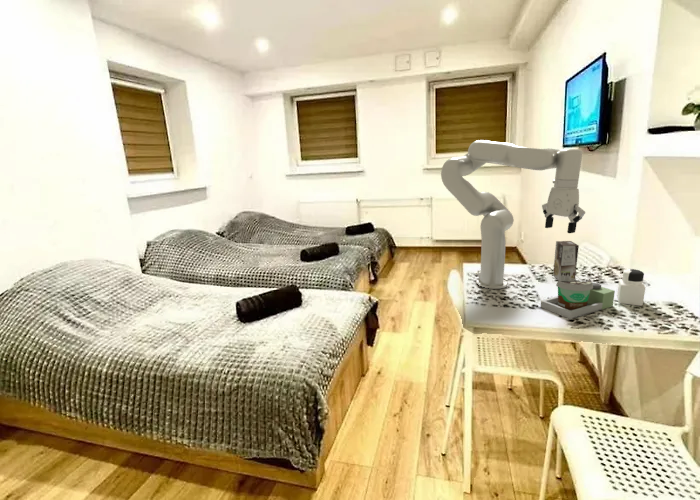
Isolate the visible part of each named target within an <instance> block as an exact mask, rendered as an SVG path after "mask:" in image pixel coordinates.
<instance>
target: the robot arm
mask: <svg viewBox="0 0 700 500" xmlns="http://www.w3.org/2000/svg"><path fill="white" fill-rule="evenodd" d="M582 159H583V150H581V149H579V148H565V149H558V148H557V149H556V148H537V147H536V148H534V147H528V146H527V147H526V146H518V145H515V143H511V142H500V141H491V140H488V139H485V140H484V139H480V140H479V139H478V140H475V141H473V142H472V143H471V144H469V147H468V149H467V153H466V154H465V155H463V156H456V157H451V158H449V159H447V160H446V161H445V162H444V163H443V165H442V167H441V170H440V172H441V173H440V177H441V178H440V179H441V181H442V183H443V185H444V187H445V188H446V189H447V191H448V192H449V193H450V194H451V195H452V196H453V197H454V198H455V199H456V200H457V201H458V202H459V203H460V204H461V206H463V208H464V209H466V211H467V212H468V213H469V214H470V215H472V216H475V217H477V216H478V217H479V216H482V215H483V217H482V220H481V222H480V235H481V236H480V237H481V248H480V249H481V251H480V269H479V270H477V271H476V272H475V276H477V277H478V279H476V281H475V282H476V283H477V284H478V285H479V286H478V285H477V284H476V283H475V284H476V285H477V286H478V287H480V286H482V287H481V288H483V287H485V288H484V289H488V288H489V289H490V290H499V289H504V288H506V287H508V282H507V281H506V280H505V279H504V278H505V265H506V264H505V261H506V246H507V245H506V234H505V233H506V231H508V230H510V228H512V226H513V224H514V216H513V213H511V211H510V210H509V209H508V207H506V205H504V204H503V203H502V202H501V201H500V200H499V199H498V198H497V197H496V196H495V195H494V194H492V193H490V192H489V191H488V192H487V191H481V192H480V191H479V190H477V189H476V188H475V186H473V184H471V182H469V181H468V180H466V179H465V178H464V177H466V176H469V175H471V174H472V173H474V172H475V171H477V170H478V169H480V168H481V167H482V166H483V167H484V165H485V164H494V165H500V166H506V167H513V168H520V169H525V170H533V171H545V170H550V169H555V176H554V179H552V184H553V186H552V187H551V188H550V191H549V194H548V198H547V201H546V202H545V203H543V204H541V209H542V213H543V214H544V217H545V225H544V228H546V229H550V228H553V225H554V217H553V216H558V217H564V218H566V217H567V218H568V220H569V221H570V222H568V224H567V225H568V226H567V231H566V232H567V234H573V233H574V234H575V233H576V231H577V224H578V223H579V222H580V221H581V220H582V219H583V217H584V215H585V214H586V211H585V210H584V209H582V208H581V207H580V206H579V205H580V191H579V188H578V187H579V180H580V172H581V167H582Z"/></svg>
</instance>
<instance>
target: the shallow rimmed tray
mask: <svg viewBox="0 0 700 500" xmlns="http://www.w3.org/2000/svg"><path fill="white" fill-rule="evenodd" d="M592 283H593V289H591V290H590V294H589V298H588V302H587V306H585V307H582V308H578V309H575V310H572V311H571V310H568V309H565V308H562V307H560V306H558V295H557V296H554V297H550V298H546V299H543V300H540V308H542V309H545V310H548V311H550V312H552V313H554V314H556V315H560V316H561V317H564V318H567V319H569V320H573V319H576V318H579V317H582V316H585V315H586V316H587V315H589V314H592V313H594V312H595V313H596V312H599V311H603V310H605V309H608V308H611V307H613V306H614V299H615V293H616V291H615V290H614V289H612V288H611V289H610V288H607V287H603V286H602V284H601V283H599V282H598V283H597V282H592Z"/></svg>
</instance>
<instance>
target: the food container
mask: <svg viewBox="0 0 700 500" xmlns="http://www.w3.org/2000/svg"><path fill="white" fill-rule="evenodd" d="M593 283H594V282H593V281H592V279H590V278H588V279H587V280H586V281H579V280H578V281H577V280H575V281H571V282H569V281H559V280H557V282H556V285H555V286H556V287H557V296H558V306H560V307H562V308H565V309H568V310H571V311H572V310H575V309H578V308H582V307H585V306H587V302H588V298H589V294H590V290H591V289H593Z"/></svg>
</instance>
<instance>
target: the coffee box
mask: <svg viewBox="0 0 700 500" xmlns="http://www.w3.org/2000/svg"><path fill="white" fill-rule="evenodd" d="M579 246H580V245H579V244H577V243H575V242H573V241H572V240H561V241H559V240H556V241H555V248H554V249H555V252H554V259H553V260H554V262H553V272H552V273H553V274H552V275H553V276H554V277H555V278H556V279H557V281H561V282H571V281H576V274H577V273H576V272H577V265H578V256H579V249H580V248H579Z"/></svg>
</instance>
